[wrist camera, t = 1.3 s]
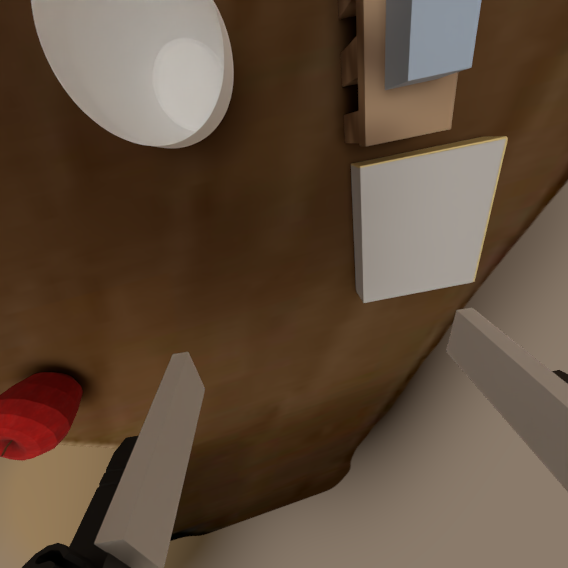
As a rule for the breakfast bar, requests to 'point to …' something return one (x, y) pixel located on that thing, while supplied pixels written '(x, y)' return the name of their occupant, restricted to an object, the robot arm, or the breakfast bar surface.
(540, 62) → the breakfast bar surface
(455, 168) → the dock
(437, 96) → the block
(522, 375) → the robot arm
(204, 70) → the cup
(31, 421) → the apple
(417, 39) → the blue-grey block
